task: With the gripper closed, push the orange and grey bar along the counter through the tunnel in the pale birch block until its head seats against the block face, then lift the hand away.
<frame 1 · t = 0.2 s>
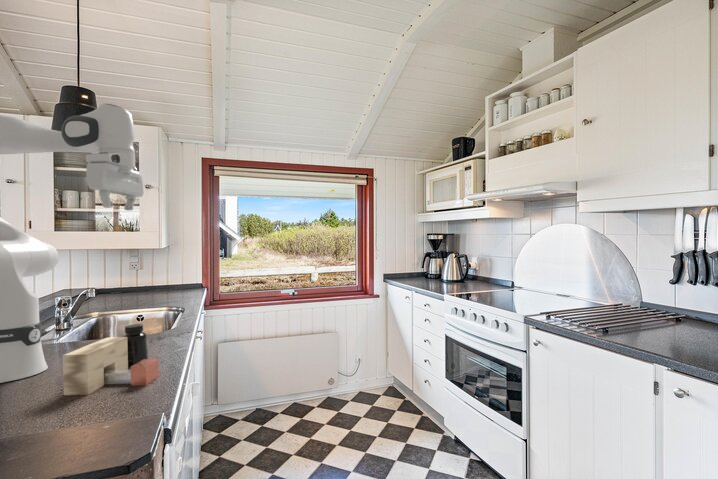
hand: (118, 209, 106), 47 cm above the counter, tool pointing down, fingers open, 8 cm apart
orange and grey bar: (119, 381, 98), on the counter
birch block: (98, 382, 98), on the counter
supplement bottle: (135, 364, 112), on the counter
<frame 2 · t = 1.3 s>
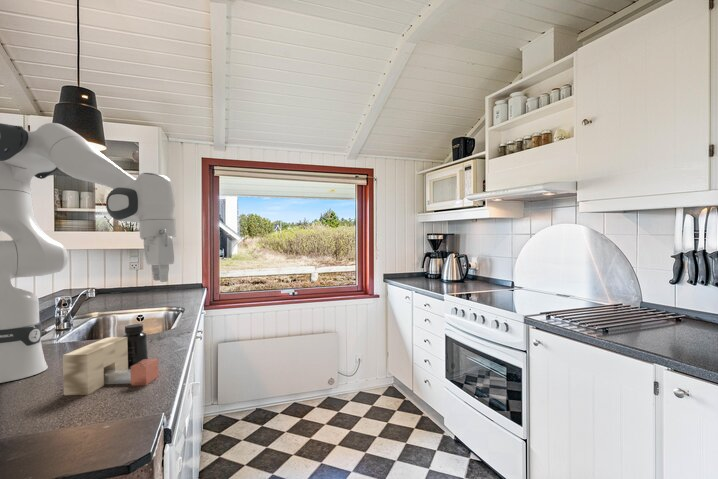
hand: (160, 281, 100), 27 cm above the counter, tool pointing down, fingers open, 8 cm apart
nothing on the counter moved.
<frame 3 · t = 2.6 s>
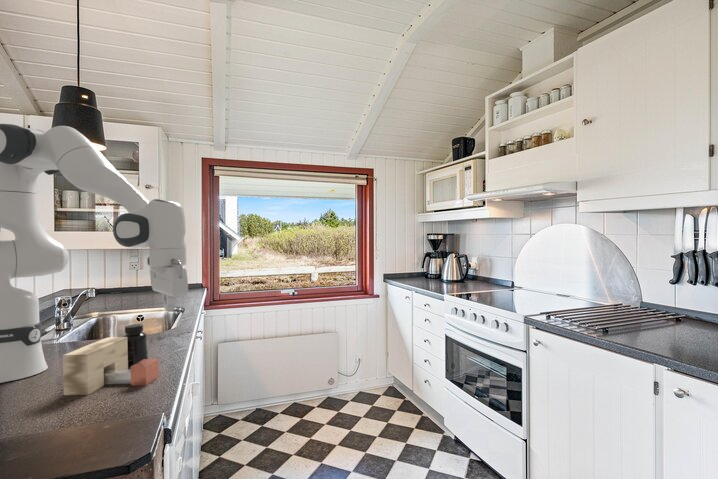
hand: (169, 310, 98), 19 cm above the counter, tool pointing down, fingers closed
nothing on the counter moved.
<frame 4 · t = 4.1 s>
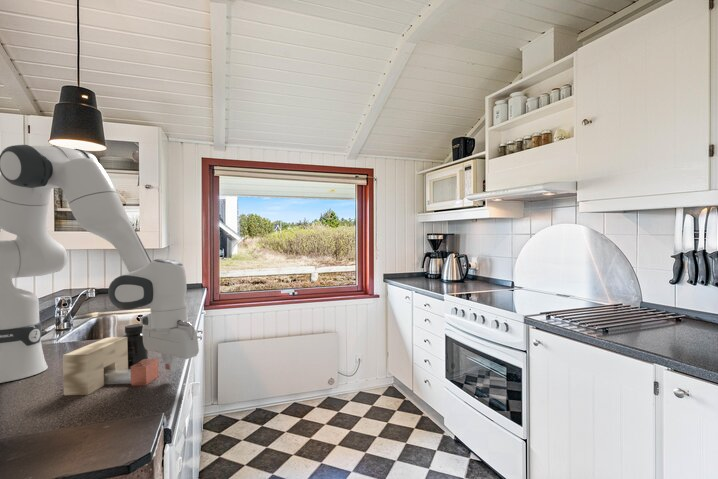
hand: (170, 369, 98), 3 cm above the counter, tool pointing down, fingers closed
nothing on the counter moved.
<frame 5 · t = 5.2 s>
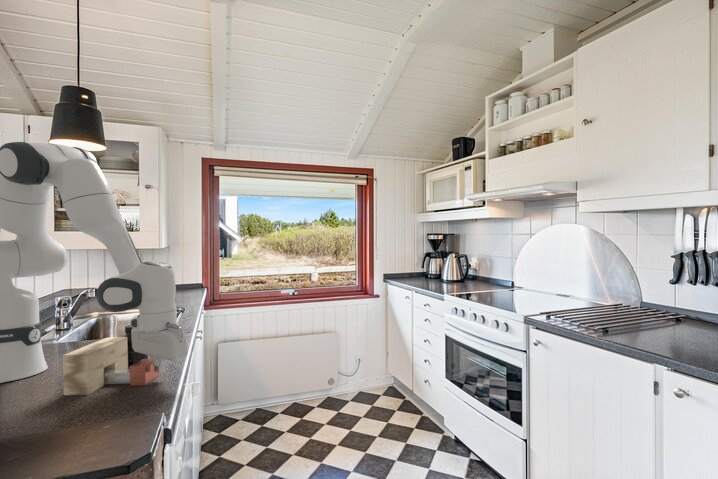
hand: (159, 372, 98), 2 cm above the counter, tool pointing down, fingers closed
orange and grey bar: (118, 381, 98), on the counter, touching gripper
everything else where it was.
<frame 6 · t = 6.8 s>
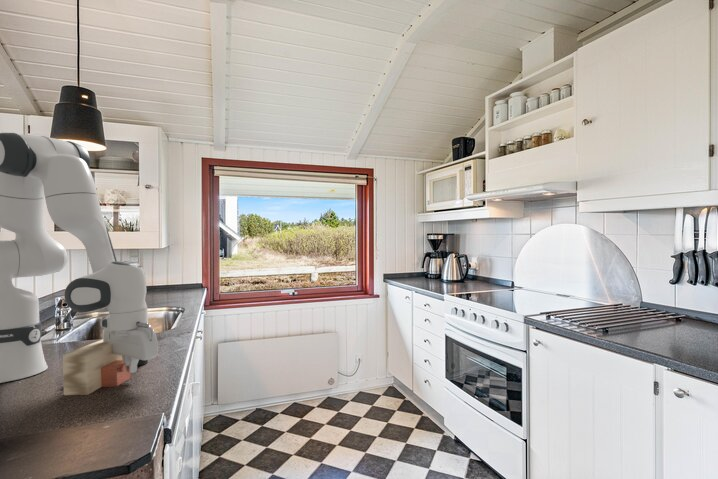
hand: (131, 371, 98), 3 cm above the counter, tool pointing down, fingers closed
orange and grey bar: (90, 382, 98), on the counter, touching birch block, gripper
everything else where it was.
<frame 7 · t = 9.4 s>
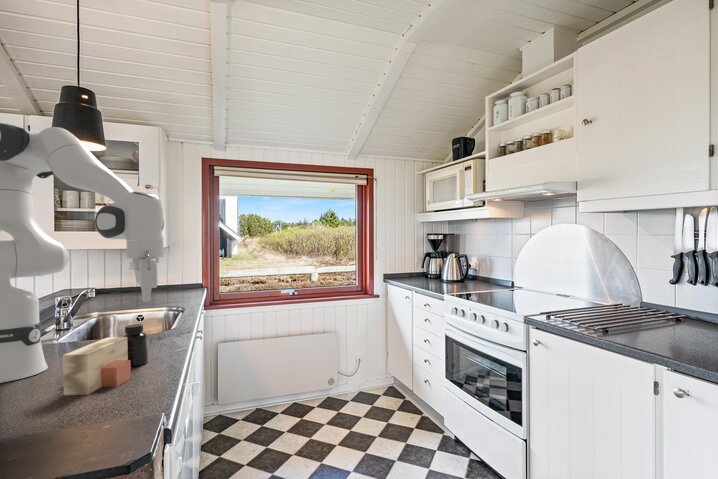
hand: (146, 301, 100), 21 cm above the counter, tool pointing down, fingers closed
orange and grey bar: (90, 383, 98), on the counter
everything else where it was.
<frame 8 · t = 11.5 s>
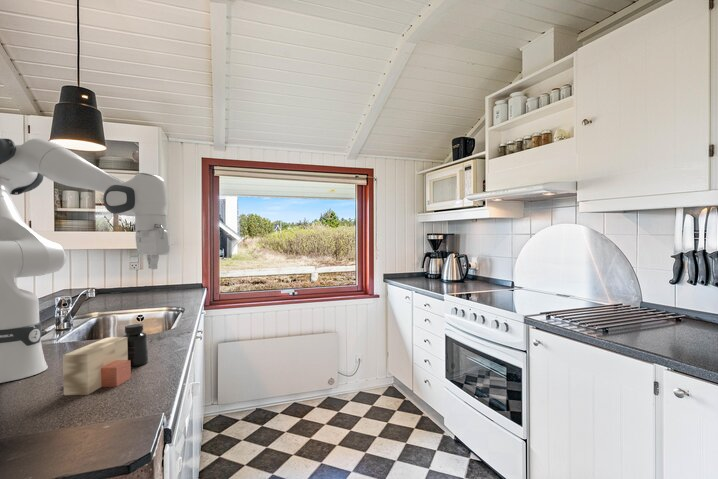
hand: (152, 269, 114), 29 cm above the counter, tool pointing down, fingers closed
nothing on the counter moved.
at the end: orange and grey bar 0.6 cm from the target spot on the birch block, point 0.0 cm above the birch block's base; orange and grey bar moved 7.5 cm from its start; orange and grey bar tilted 0° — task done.
